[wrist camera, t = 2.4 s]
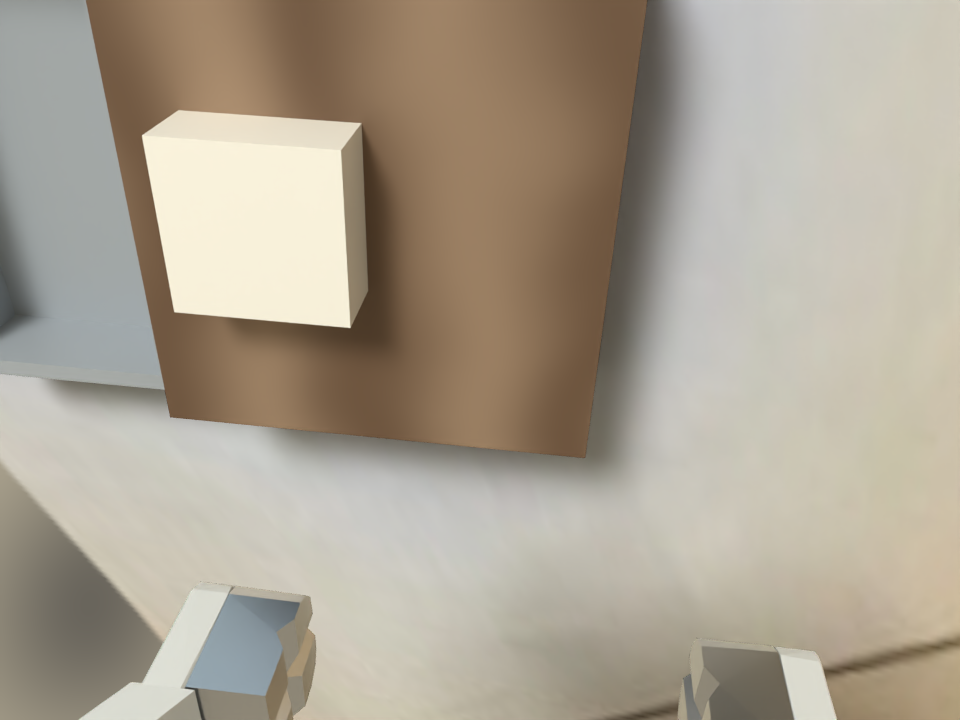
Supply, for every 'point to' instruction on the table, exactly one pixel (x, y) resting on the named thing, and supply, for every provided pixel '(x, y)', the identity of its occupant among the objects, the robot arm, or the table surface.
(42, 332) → the box
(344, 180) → the tile
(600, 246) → the walnut block
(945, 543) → the table surface
